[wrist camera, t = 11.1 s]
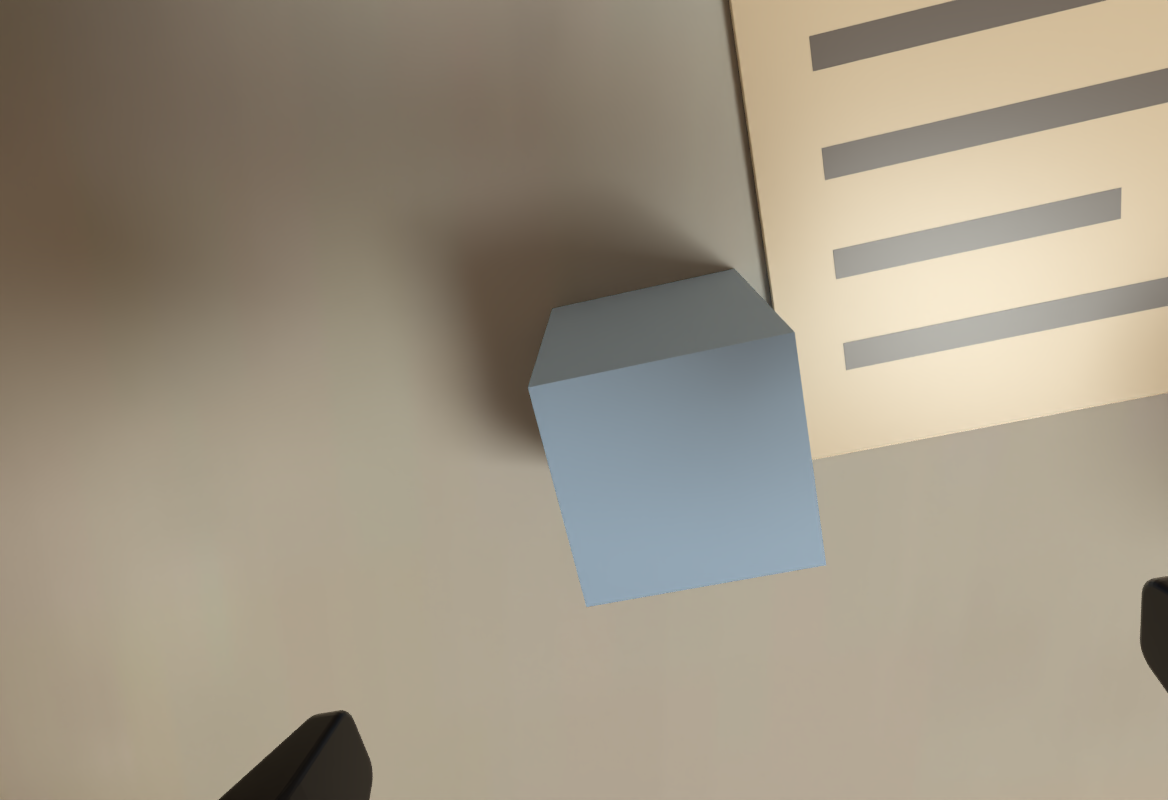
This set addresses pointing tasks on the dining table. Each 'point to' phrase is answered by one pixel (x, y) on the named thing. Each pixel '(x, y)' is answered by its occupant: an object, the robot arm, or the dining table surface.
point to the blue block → (677, 438)
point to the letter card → (960, 206)
